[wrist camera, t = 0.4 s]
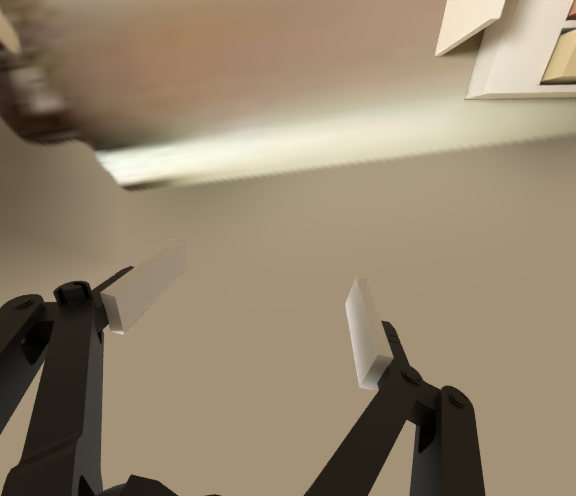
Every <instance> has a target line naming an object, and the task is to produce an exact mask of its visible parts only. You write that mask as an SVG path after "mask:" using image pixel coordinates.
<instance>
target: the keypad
mask: <svg viewBox="0 0 576 496" xmlns="http://www.w3.org/2000/svg"><path fill="white" fill-rule="evenodd" d="M573 1H574V0H505V3H504V6H503V9H502V13H501V16H500V18H499V19H498V20H496V21H495V22H493V23H492V24H490V25H489V26H487V27H485V31H484V34H483V37H482V41H481V44H480V48H479V51H478V54H477V58H476V61H475V65H474V68H473V71H472V75H471V78H470V82H469V85H468V88H467V92H466V95H465V99H518V98H576V81H575V82H571V83H546V84H540V81H541V79H542V76H543V74H544V72H545V69H546V67H547V64H548V62H549V59H550V57H551V55H552V52H553V50H554V47H555V45H556V42H557V40H558V37H559V36H561V35H563V34H566V33H568V32H570V31H573V30H575V29H576V20H568V21H565V20H566V18H567V15H568V13H569V11H570V8H571V6H572V3H573Z"/></svg>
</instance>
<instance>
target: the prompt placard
mask: <svg viewBox="0 0 576 496" xmlns="http://www.w3.org/2000/svg"><path fill="white" fill-rule="evenodd" d="M504 3H505V0H448V1H447V5H446V9H445V14H444V18H443V22H442V27H441V31H440V35H439V40H438V44H437V49H436V53H435V56H442V55H444V54H445V53H447V52H448V51H450V50H451V49H453V48H455V47H456V46H458V45H459V44H461V43H462V42H464V41H465V40H467V39H468V38H470V37H472V36H473V35H475V34H476V33H478V32H479V31H481V30H482V29H484V28H485V27H487V26H489V25H490V24H492V23H493V22H495V21H496V20H498V19H499V18H500V16H501V13H502V9H503V6H504Z"/></svg>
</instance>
